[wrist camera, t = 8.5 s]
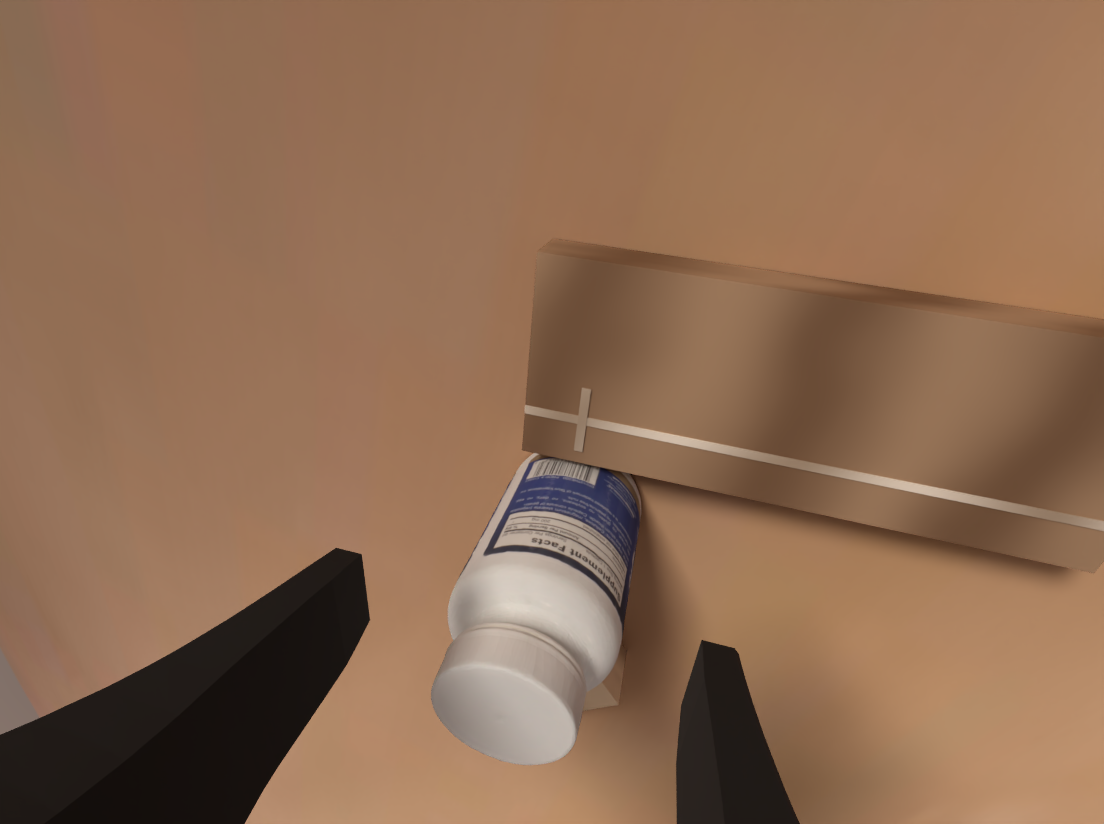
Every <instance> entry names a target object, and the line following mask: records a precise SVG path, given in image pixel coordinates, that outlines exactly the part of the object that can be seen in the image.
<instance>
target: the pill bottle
mask: <svg viewBox="0 0 1104 824" xmlns="http://www.w3.org/2000/svg"><path fill="white" fill-rule="evenodd" d="M640 518H641V498H640V495H639V492H638V489H637V486H636V484H635V482H634V480H633V479H632V477H631V476H630V474H629V473H625V472H621V471H616V470H611V469H607V468H602V467H597V466H593V465H588V464H584V463H579V462H574V461H570V460H565V459H560V458H556V457H551V456H546V455H542V454H537V453H534V454H532V455H531V456H530V457H528V458H527V459H526V460H525V461H524V462H523V463H522V464H521V466H520V467H519V469H518V470H517V471H516V473H515V475H514V476H513V479H512V480H511V482H510V483H509V485H508V487H507V489H506V491H505V493H504V494H503V497H502V498H501V500H500V502H499V504H498V506H497V508H496V510H495V512H494V513H493V515H492V517H491V519H490V521H489V523H488V525H487V527H486V529H485V530H484V532H483V534H482V536H481V538H480V540H479V542H478V544H477V545H476V547H475V549H474V551H473V553H472V555H471V557H470V558H469V560H468V562H467V564H466V565H465V567H464V569H463V571H462V573H461V574H460V576H459V578H458V580H457V583H456V585H455V587H454V589H453V591H452V594H451V597H450V601H449V606H448V624H449V629H450V633H451V636H452V639H453V642H452V643H451V644H450V646H449V647H448V649H447V651H446V654H445V658H444V660H443V662H442V665H441V667H440V669H439V671H438V673H437V675H436V678H435V680H434V683H433V686H432V690H431V700H432V704H433V708H434V710H435V712H436V714H437V716H438V717H439V719H440V721H441V722H442V723H443V724H444V725H445V727H446V728H447V729H448V730H449V731H450V732H451V733H452V734H453V735H454V736H455V737H457V738H458V739H459V740H460V741H462V742H463V743H465V744H466V745H468V746H469V747H471V748H473V749H475V750H477V751H479V752H481V753H483V754H485V755H487V756H490V757H493V758H496V759H498V760H500V761H504V762H509V763H513V764H520V765H540V764H547V763H551V762H554V761H556V760H559V759H560V758H562V757H564V756H565V755H566V754H567V753H568V752H569V751H570V750H571V749H572V747H573V745H574V743H575V741H576V738H577V734H578V730H579V726H580V721H581V717H582V712H583V707H584V703H585V697H586V692H588V691H590V690H591V689H593V688H595V687H596V686H598V685H599V684H600V683H601V682H602V681H603V680H604V679H605V678H606V677H607V676H608V675H609V673H610V672H611V670H612V669H613V667H614V665H615V663H616V660H617V658H618V654H619V650H620V646H621V642H622V635H623V630H624V620H625V613H626V607H627V601H628V594H629V588H630V583H631V578H632V571H633V565H634V558H635V551H636V544H637V539H638V532H639V526H640Z"/></svg>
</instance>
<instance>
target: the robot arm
mask: <svg viewBox="0 0 1104 824" xmlns="http://www.w3.org/2000/svg"><path fill="white" fill-rule="evenodd" d="M369 621H370V617H369V609H368V601H367V593H366V585H365V577H364V569H363V561H362V554H358V553H354V552H350V551H346V550H343V549H339V548H335V549H334V550H332V551H331V552H329V553H328V554H326V555H325V556H323V557H322V558H320V559H319V560H317V561H316V562H314V563H313V564H311V565H310V566H308V567H307V568H305V569H304V570H302V571H301V572H299V573H298V574H296V575H295V576H293V577H292V578H290V579H289V580H287V581H286V582H284V583H283V584H281V585H280V586H278V587H277V588H275V589H274V590H272V591H271V592H269V593H268V594H266V595H265V596H263V597H262V598H260V599H259V600H257V601H256V602H254V603H252V604H251V605H249V606H248V607H246V608H245V609H243V610H242V611H240V612H239V613H237V614H236V615H234V616H232V617H231V618H229V619H228V620H226V621H224V622H223V623H221V624H219V625H218V626H216V627H214V628H213V629H211V630H209V631H208V632H206V633H205V634H203V635H201V636H200V637H198V638H196V639H195V640H193V641H191V642H190V643H188V644H186V645H185V646H183V647H181V648H179V649H178V650H176V651H174V652H172V653H171V654H169V655H167V656H165V657H163V658H162V659H160V660H158V661H156V662H154V663H152V664H151V665H149V666H147V667H145V668H143V669H141V670H139V671H137V672H135V673H133V674H131V675H129V676H128V677H126V678H124V679H122V680H120V681H118V682H116V683H114V684H112V685H110V686H108V687H106V688H104V689H102V690H100V691H97V692H95V693H93V694H91V695H89V696H87V697H84V698H82V699H80V700H78V701H76V702H74V703H71V704H69V705H67V706H65V707H63V708H61V709H58V710H56V711H54V712H52V713H50V714H48V715H46V716H43V717H41V718H39V719H37V720H34V721H32V722H30V723H27V724H25V725H23V726H21V727H18V728H15V729H13V730H11V731H9V732H6V733H4V734H1V735H0V824H245V822H246V820H247V818H248V816H249V815H250V813H251V811H252V809H253V808H254V806H255V804H256V802H257V800H258V799H259V797H260V795H261V793H262V792H263V790H264V788H265V787H266V785H267V784H268V782H269V780H270V779H271V777H272V776H273V774H274V772H275V771H276V769H277V768H278V766H279V765H280V763H281V762H282V760H283V759H284V757H285V756H286V754H287V753H288V751H289V750H290V748H291V747H292V745H293V744H294V742H295V741H296V740H297V738H298V737H299V735H300V734H301V732H302V731H303V729H304V728H305V726H306V725H307V723H308V722H309V720H310V719H311V717H312V716H313V714H314V713H315V712H316V710H317V709H318V707H319V706H320V704H321V703H322V701H323V700H324V698H325V697H326V695H327V694H328V692H329V691H330V689H331V688H332V686H333V685H334V683H335V682H336V680H337V679H338V677H339V676H340V674H341V673H342V671H343V670H344V668H345V667H346V665H347V663H348V661H349V659H350V658H351V656H352V654H353V652H354V650H355V648H356V646H357V644H358V642H359V640H360V638H361V637H362V635H363V633H364V631H365V629H366V627H367V625H368V623H369ZM676 780H677V824H800V823H799V821H798V819H797V817H796V814H795V812H794V810H793V807H792V805H791V803H790V800H789V798H788V795H787V793H786V791H785V788H784V786H783V783H782V781H781V778H780V776H779V773H778V771H777V768H776V765H775V763H774V760H773V758H772V755H771V753H770V750H769V747H768V745H767V742H766V739H765V737H764V734H763V731H762V728H761V726H760V723H759V720H758V717H757V714H756V711H755V708H754V705H753V702H752V699H751V696H750V692H749V689H748V686H747V683H746V679H745V676H744V672H743V669H742V665H741V661H740V657H739V654H738V652H737V651H736V650H735V648H731V647H727V646H723V645H719V644H715V643H711V642H707V641H703V640H702V641H701V644H700V647H699V650H698V654H697V657H696V660H695V663H694V666H693V670H692V673H691V676H690V679H689V682H688V686H687V689H686V692H685V695H684V698H683V702H682V705H681V714H680V725H679V736H678V749H677V761H676Z"/></svg>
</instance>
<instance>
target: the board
mask: <svg viewBox="0 0 1104 824" xmlns="http://www.w3.org/2000/svg"><path fill="white" fill-rule="evenodd" d="M522 450H523V451H528V452H532V453H537V454H542V455H546V456H551V457H556V458H560V459H565V460H570V461H574V462H579V463H584V464H588V465H593V466H597V467H602V468H607V469H611V470H616V471H621V472H625V473H630V474H635V475H639V476H644V477H648V478H653V479H658V480H662V481H667V482H672V483H676V484H681V485H686V486H690V487H695V488H700V489H704V490H709V491H713V492H718V493H723V494H727V495H732V496H737V497H741V498H746V499H751V500H755V501H760V502H764V503H769V504H774V505H778V506H783V507H788V508H792V509H797V510H802V511H806V512H811V513H816V514H820V515H825V516H829V517H834V518H839V519H843V520H848V521H853V522H857V523H862V524H867V525H871V526H876V527H881V528H885V529H890V530H894V531H899V532H904V533H908V534H913V535H918V536H922V537H927V538H932V539H936V540H941V541H945V542H950V543H955V544H959V545H964V546H969V547H973V548H978V549H983V550H987V551H992V552H997V553H1001V554H1006V555H1010V556H1015V557H1020V558H1024V559H1029V560H1034V561H1038V562H1043V563H1048V564H1052V565H1057V566H1062V567H1066V568H1071V569H1075V570H1080V571H1085V572H1089V573H1095V572H1096V571H1097V569H1098V568H1099V567H1100V566H1101V564H1102V563H1103V562H1104V320H1103V319H1096V318H1089V317H1083V316H1076V315H1069V314H1062V313H1056V312H1049V311H1042V310H1035V309H1028V308H1022V307H1015V306H1008V305H1001V304H994V303H988V302H981V301H974V300H967V299H960V298H954V297H947V296H940V295H933V294H926V293H920V292H913V291H906V290H899V289H892V288H886V287H879V286H872V285H865V284H858V283H852V282H845V281H838V280H831V279H825V278H818V277H811V276H804V275H797V274H791V273H784V272H777V271H770V270H763V269H757V268H750V267H743V266H736V265H729V264H723V263H716V262H709V261H702V260H695V259H689V258H682V257H675V256H668V255H661V254H655V253H648V252H641V251H634V250H627V249H621V248H614V247H607V246H600V245H594V244H587V243H580V242H573V241H566V240H560V239H552V240H551V241H550V242H548V243H547V244H546V245H545V246H543V247H542V248H541V249H540V250H539V251H537V259H536V272H535V285H534V298H533V312H532V325H531V338H530V351H529V365H528V378H527V391H526V404H525V418H524V431H523V444H522Z"/></svg>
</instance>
